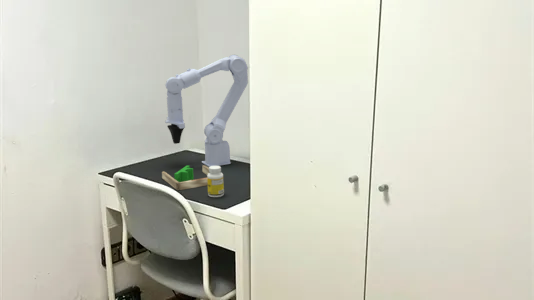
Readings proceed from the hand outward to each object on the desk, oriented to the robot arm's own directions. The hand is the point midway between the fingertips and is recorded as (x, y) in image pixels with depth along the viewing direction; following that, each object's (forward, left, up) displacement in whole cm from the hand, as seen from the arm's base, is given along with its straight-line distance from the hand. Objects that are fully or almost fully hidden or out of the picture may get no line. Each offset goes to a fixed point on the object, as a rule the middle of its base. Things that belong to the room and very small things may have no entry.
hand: (176, 143), depth 225 cm
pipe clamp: (+4, +20, -10) cm, 23 cm away
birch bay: (+2, +19, -9) cm, 21 cm away
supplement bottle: (+1, +39, -10) cm, 40 cm away
